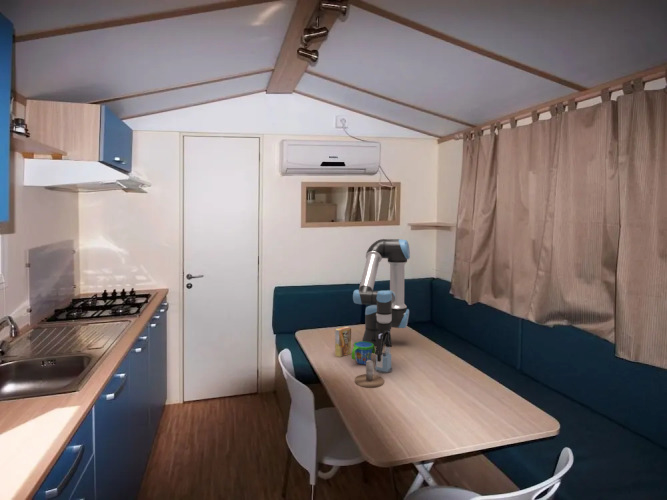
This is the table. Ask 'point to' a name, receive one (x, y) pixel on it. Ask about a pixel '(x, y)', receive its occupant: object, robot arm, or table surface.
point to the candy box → (342, 341)
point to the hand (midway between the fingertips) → (383, 363)
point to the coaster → (383, 371)
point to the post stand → (369, 377)
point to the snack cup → (363, 351)
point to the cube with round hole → (385, 363)
